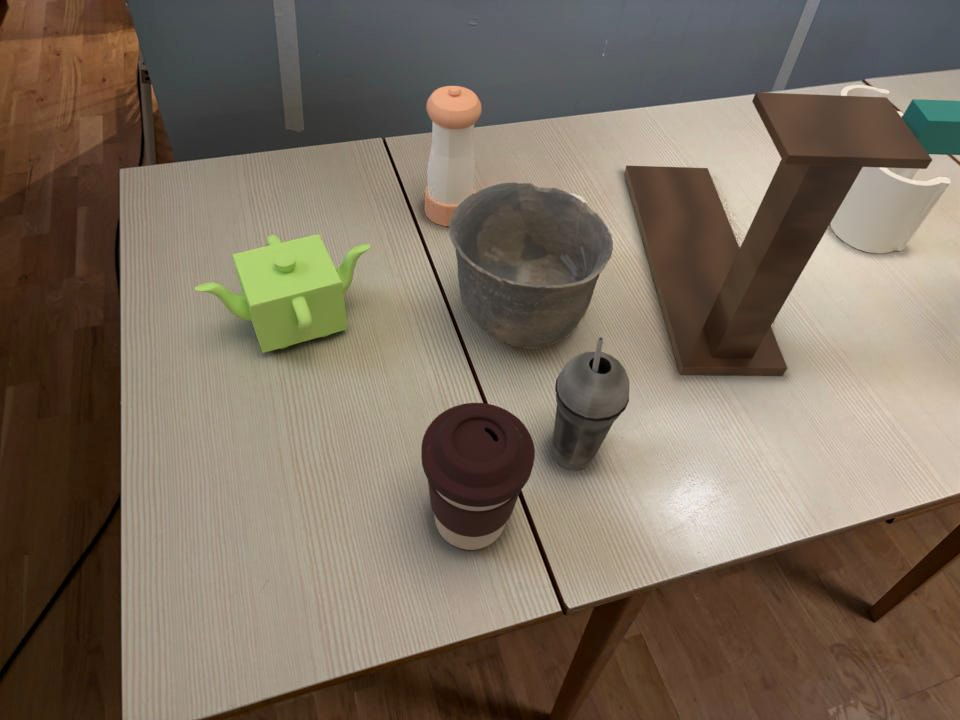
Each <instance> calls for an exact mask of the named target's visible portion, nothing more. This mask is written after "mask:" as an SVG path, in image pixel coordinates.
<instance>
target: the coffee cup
mask: <svg viewBox="0 0 960 720" xmlns="http://www.w3.org/2000/svg"><path fill="white" fill-rule="evenodd" d="M420 450H421V453H420V454H421V455H420V456H421V466H422V469H423V472H424V475H425V478H426V479H427V483H428V492H429V493H428V494H429V501H430V505H431V506H430V507H431V509H432V513H433V517H434V523H435V526H436V530H437V531H438V533H439V534H440V536H441V537H442V538H443V539H444V540H445V541H446V542H447V543H448V544H450V545H451V546H454V547H456V548H458V549H462V550H468V551H476V550H480V549H483V548H486V547H489V546H490V545H492V544H493V543H495V541H497V540H498V539H499V538H500V536H501V535H502V534H503V532H504V529H505V528H506V524H507V522H508V521H509V519H510V518H511V516H512V514H513V511H514V509H515V506H516V504H517V501H518V499H519V495H520V493H521V491H522V489H523V488H524V487H525V486H526V484H527V483H528V481H529V479H530V477H531V475H532V471H533V467H534V464H535V457H536V456H535V455H536V454H535V453H536V450H535V443H534V440H533V438H532V434H531V433H530V431H529V429H528V428H527V427H526V425H525V424H524V423H523V421H521V419H520V418H518V417H517V416H516V415H514V414H513V413H512V412H510V411H508V410H507V409H505V408H503V407H500V406H497V405H494V404H490V403H486V402H467V403H462V404H458V405H454V406H452V407H450V408H448V409H446V410H444V411H443V412H441V413H440V414H438V415H437V416H436V417H435V418H434V419H433V420H432V421H431V422H430V424H429V425H428V427H427V428H426V430H425V432H424V435H423V437H422V441H421V449H420Z"/></svg>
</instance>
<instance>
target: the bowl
mask: <svg viewBox="0 0 960 720" xmlns="http://www.w3.org/2000/svg"><path fill="white" fill-rule="evenodd" d="M569 193H570V192H568V191H565V190H562V189H559V188H556V187H540V186H538V185H535V184H533V183H531V182H523V183H520V182H501V183H498V184H495V185H491V186H487V187H485V188H483V189H480V190H478V191H476V194H472V195H470V196H469V197H467V198H466V199H465V200H464V201H463V202H462V203H460V204H459V205H458V207H457V208H456V209H455V211H454V212H453V215H452V217H451V220H450V224H449V226H448V232H449V237H450V240H451V242H452V244H453V246H454V249H455V257H456V261H457V262H456V263H457V265H456V266H457V279H458V280H457V281H458V288H459V295H460V301H461V303H462V305H463V307H464V309H465V312H467V314H468V315H469V317H470V319H471V320H472V321H473V322H474V323H475V324H476V325H477V326H478V327H479V328H480V329H481V330H482V331H484V332H485V333H487V334H488V335H489V336H491V338H493V339H495V340H497V341H500V342H502V343H504V344H507V345H510V346H513V347H518V348H522V349H523V348H524V349H540V348H546V347H549V346H551V345H554V344H556V343H558V342H560V341H562V340H564V339H566V338H567V337H569V336H570V335H571V334H572V333H573V332H574V330H576V329H577V328H578V326H579V325H580V323H581V321H582V319H584V317H585V315H586V313H587V310H588V309H589V306H590V304H591V300H592V298H593V295H594V291H595V288H596V286H597V282H598V280H599V277H600V274H601V273H603V271H604V270H605V268H606V266H607V265H608V263H609V261H610V259H611V258H612V255H613V251H614V240H613V235H612V233H611V232H610V230H609V227H607V225H606V224H605V221H604V220H603V219H602V218H601V217H600V215H599V214H598V213H597V212H596V211H594V210H593V209H592V208H591V207H590V205H589V204H588V203H587V204H588V205H587V204H586V202H587V201H586V202H582V201H581V200H580V199H578V198H577V197H575V196H573V195H571V194H569Z"/></svg>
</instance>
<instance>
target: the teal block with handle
mask: <svg viewBox="0 0 960 720" xmlns="http://www.w3.org/2000/svg"><path fill="white" fill-rule="evenodd" d="M903 114H904V115H903V116H902V119H903V120H904V122H905V123H906V125H907V126H908V127H909V129H910V130H911V131H912V133H913V134H914V135H915V137H916V138H917V139H918V141H919V142H920V144H921V145H922V146H923V148H924V149H925V150H926V152H927V153H928V154H929V155H938V156H939V155H940V156H943V155H944V156H960V100H951V99H950V100H947V99H920V98H919V99H918V98H916V99H915V98H913V99H912V100H910V103H909V104H908V106H907V108H906V110H905V111H904V112H903Z"/></svg>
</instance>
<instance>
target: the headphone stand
mask: <svg viewBox="0 0 960 720" xmlns="http://www.w3.org/2000/svg"><path fill="white" fill-rule="evenodd" d="M753 95H754V96H753V98H752V101H751V102H752V104H753V106H754V108H755V110H756V112H757V113H758V116H759V118H760V121H761V122H762V123H763V126H764V127H765V130H766V131H767V133H768V135H769V136H770V139H771V141H772V143H773V145H774V147H775V149H776V151H777V153H778V154H779V157H780V158H781V160H780V161H779V164H778V165H777V167H776V170H775V172H774V175H773V176H772V179H771V181H770V182H769V185H768V187H767V189H766V191H765V194H764V196H763V198H762V200H761V202H760V204H759V206H758V208H757V211H756V213H755V215H754V217H753V219H752V222H751V223H750V226H749V228H748V230H747V232H746V234H745V236H744V239H743V241H742V243H741V245H739V243H738V240H737V238H736V236H735V232H734V231H733V228H732V226H731V223H730V220H729V218H728V215H727V212H726V211H725V208H724V205H723V202H722V200H721V198H720V195H719V193H718V190H717V189H716V186H715V183H714V181H713V178H712V176H711V173H710V170H709V168H708V167H685V166H654V165H626V166H625V169H624V172H623V173H624V174H623V175H624V178H625V181H626V185H627V188H628V191H629V196H630V199H631V202H632V203H631V204H632V206H633V209H634V213H635V214H634V215H635V217H636V222H637V225H638V229H639V231H640V236H641V239H642V243H643V246H644V250H645V253H646V256H647V260H648V264H649V268H650V271H651V276H652V279H653V283H654V286H655V289H656V293H657V297H658V301H659V304H660V308H661V311H662V314H663V315H662V316H663V319H664V322H665V326H666V330H667V333H668V337H669V340H670V345H671V347H672V351H673V355H674V359H675V361H676V365H677V369H678V374H679V375H680V376H762V377H763V376H767V377H768V376H769V377H771V376H773V377H775V376H777V377H779V376H780V377H782V376H784V375H785V373H786V372H787V370H788V366H787V363H786V361H785V358H784V356H783V353H782V351H781V348H780V346H779V344H778V340H777V338H776V336H775V333H774V330H773V328H772V325H773V323H774V321H775V320H776V319H777V316H778V315H779V313H780V312H781V310H782V308H783V306H784V304H785V303H786V301H787V300H788V297H789V296H790V294H791V292H792V290H793V289H794V287H795V285H796V283H797V282H798V280H799V279H800V277H801V275H802V273H803V272H804V270H805V267H806V266H807V264H808V263H809V261H810V259H811V258H812V256H813V254H814V252H815V251H816V249H817V247H818V245H819V244H820V242H821V240H822V238H823V237H824V235H825V233H826V232H827V230H828V229H829V226H831V225H830V223H831V221H832V219H833V218H834V216H835V214H836V213H837V211H838V209H839V207H840V206H841V204H842V202H843V200H844V199H845V197H846V195H847V193H848V192H849V190H850V188H851V187H852V185H853V183H854V181H855V180H856V178H857V176H858V174H859V173H860V171H861V169H862V167H881V168H912V169H919V170H927V169H928V168H929V166H930V165H931V163H932V161H933V158H932V156H931V155H930V154H928V153H927V152H926V150H925V149H924V148H923V146H922V145H921V144H920V142H919V141H918V139H917V138H916V137H915V135H914V134H913V133H912V131H911V130H910V129H909V127H908V126H907V125H906V123H905V122H904V120H903V119H902V118H901V116H900V115H899V114H898V112H897V111H898V110H897V109H896V108H895V107H894V105H893V104H892V103H891V101H890V100H889V98H888V97H887V98H886V97H862V96H839V95H837V94H834V95H833V94H810V93H809V94H808V93H807V94H806V93H785V92H784V93H783V92H758V91H756V92H755V93H754V94H753Z"/></svg>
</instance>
